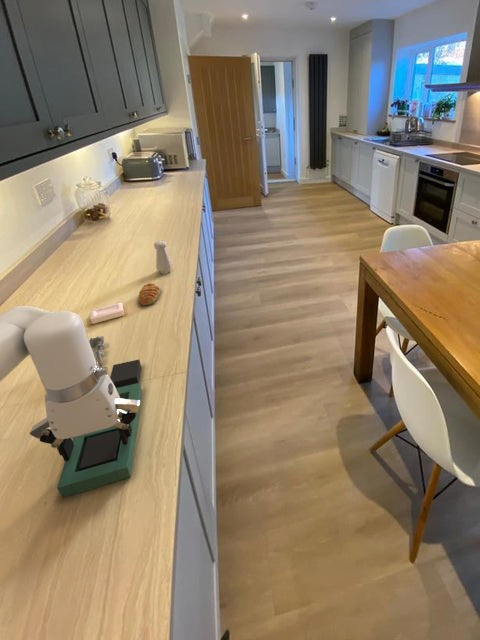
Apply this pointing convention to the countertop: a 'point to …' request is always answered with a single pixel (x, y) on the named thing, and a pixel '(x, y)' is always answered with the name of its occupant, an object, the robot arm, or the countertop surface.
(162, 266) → the salt shaker
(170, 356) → the countertop surface
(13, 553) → the countertop surface
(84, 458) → the pad
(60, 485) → the green double tile frame
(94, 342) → the egg carton
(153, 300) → the pastry
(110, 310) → the soap bar
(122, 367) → the pad
